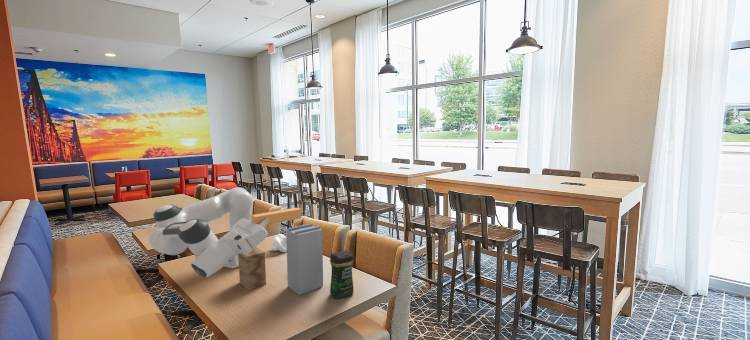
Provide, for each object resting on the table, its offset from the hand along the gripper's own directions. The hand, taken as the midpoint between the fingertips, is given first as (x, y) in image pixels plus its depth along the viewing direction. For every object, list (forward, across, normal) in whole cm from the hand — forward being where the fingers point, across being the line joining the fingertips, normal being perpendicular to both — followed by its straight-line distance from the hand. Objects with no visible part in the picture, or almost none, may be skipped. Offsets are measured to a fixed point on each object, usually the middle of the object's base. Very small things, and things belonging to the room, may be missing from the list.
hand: (265, 217), depth 138 cm
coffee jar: (+5, +16, -43) cm, 46 cm away
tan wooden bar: (+3, 0, -5) cm, 6 cm away
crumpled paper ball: (+10, -51, -46) cm, 70 cm away
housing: (-2, 0, -39) cm, 39 cm away
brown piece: (-16, -20, -31) cm, 40 cm away
